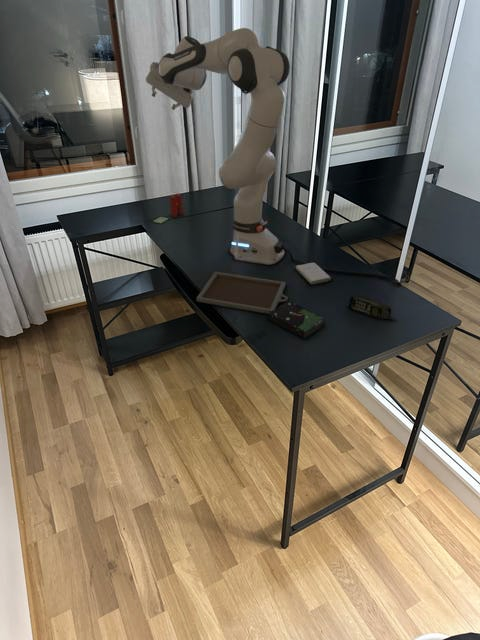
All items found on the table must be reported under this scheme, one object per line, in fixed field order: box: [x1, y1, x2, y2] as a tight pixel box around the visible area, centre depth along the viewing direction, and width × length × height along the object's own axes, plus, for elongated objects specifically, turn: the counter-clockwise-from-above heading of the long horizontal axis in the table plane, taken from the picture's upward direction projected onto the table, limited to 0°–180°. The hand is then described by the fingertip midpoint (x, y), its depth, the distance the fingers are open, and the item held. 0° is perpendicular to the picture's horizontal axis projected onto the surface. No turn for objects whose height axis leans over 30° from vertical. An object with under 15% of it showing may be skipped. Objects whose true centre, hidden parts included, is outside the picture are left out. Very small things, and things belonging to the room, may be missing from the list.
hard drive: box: [295, 262, 332, 285], centre depth 163 cm, size 2×8×12 cm
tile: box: [152, 216, 169, 224], centre depth 205 cm, size 5×6×1 cm
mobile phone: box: [348, 294, 395, 320], centre depth 141 cm, size 5×3×15 cm
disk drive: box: [268, 300, 325, 339], centre depth 138 cm, size 10×3×15 cm
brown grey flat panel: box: [195, 271, 289, 315], centre depth 152 cm, size 19×2×30 cm
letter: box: [169, 193, 184, 218], centre depth 207 cm, size 3×5×10 cm, turn 132°
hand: (163, 102), depth 186 cm, fingers open, 8 cm apart
